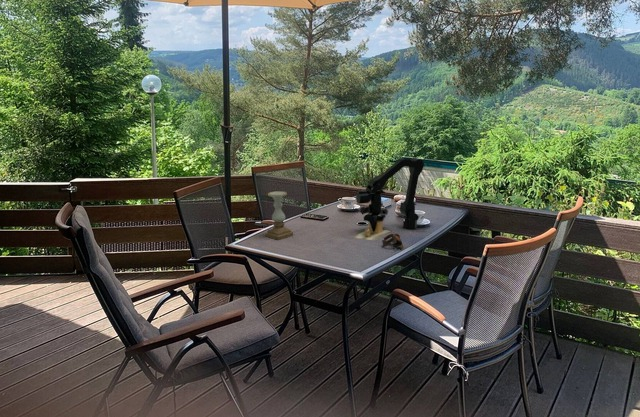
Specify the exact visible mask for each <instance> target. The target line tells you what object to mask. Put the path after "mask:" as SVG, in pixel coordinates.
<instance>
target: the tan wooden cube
mask: <svg viewBox="0 0 640 417" xmlns="http://www.w3.org/2000/svg"><path fill="white" fill-rule="evenodd" d="M383 222H384V220H383V221H378V223H377V226H376V229H375V232H373V231H372V228H371V225H370V222H369V221H368V228H369V229H370V233H378V234H379V233H380V232H382V231H383V230H384V228H383V227H384V226H383V225H384V224H383Z"/></svg>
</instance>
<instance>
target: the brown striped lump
mask: <svg viewBox="0 0 640 417" xmlns="http://www.w3.org/2000/svg"><path fill="white" fill-rule="evenodd" d="M381 243H382V247H388V246H389V247H391V246H392V244H394V245H399V248H400V249H401V251H403V249H404V244H403V241H402V240H401V236H400V234H399V233H390V234H389V233H388V235H387V234H386V235H385V237H383V239H382V240H381Z"/></svg>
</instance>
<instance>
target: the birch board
mask: <svg viewBox="0 0 640 417" xmlns="http://www.w3.org/2000/svg"><path fill="white" fill-rule="evenodd" d="M367 229H369V227H368V228H367ZM389 232H390V233H391V230H387V229H383V231H382V232H380V233H379V234H378V233H370V237H365V230H363V231H361V232H360V233H358V234H356V235H354V236H353V237H352V238H353V239H359V240H360V239H361V240H367V241H374V242H376V241H377V240H379V239H380V238H382V237H384V236H386V235H387V234H389Z"/></svg>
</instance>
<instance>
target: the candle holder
mask: <svg viewBox="0 0 640 417" xmlns="http://www.w3.org/2000/svg"><path fill="white" fill-rule="evenodd" d="M267 195H268V197H271V198H272V199H273V201H274V202H273V205H272V206H273V207H274V211H273V213H272V214H271V220H272V221H273V222H272V225H273V227H272V228H270V229H268V230H267V232H266V233H265V237H266V238H270V239H273V240H277V241H279V240H284V239H287V238H290V237H293V236H294V232H292V229H290V228H287V227H286V226H285V222H284V221H285V220H286V214H285V213H284V211H283V210H282V207H283V206H284V204H283V203H282V199H283V197H285V196H287V195H288V193H287V191H282V190H278V191H277V190H276V191H275V190H274V191H270V192H268V193H267Z"/></svg>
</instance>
